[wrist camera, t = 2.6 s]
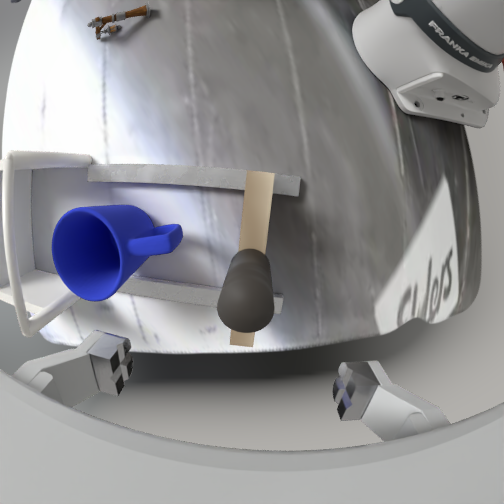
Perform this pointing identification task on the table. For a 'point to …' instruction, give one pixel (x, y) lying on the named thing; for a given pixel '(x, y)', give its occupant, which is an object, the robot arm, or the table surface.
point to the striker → (250, 266)
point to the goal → (29, 241)
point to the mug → (107, 247)
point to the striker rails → (184, 177)
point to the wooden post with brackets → (117, 19)
